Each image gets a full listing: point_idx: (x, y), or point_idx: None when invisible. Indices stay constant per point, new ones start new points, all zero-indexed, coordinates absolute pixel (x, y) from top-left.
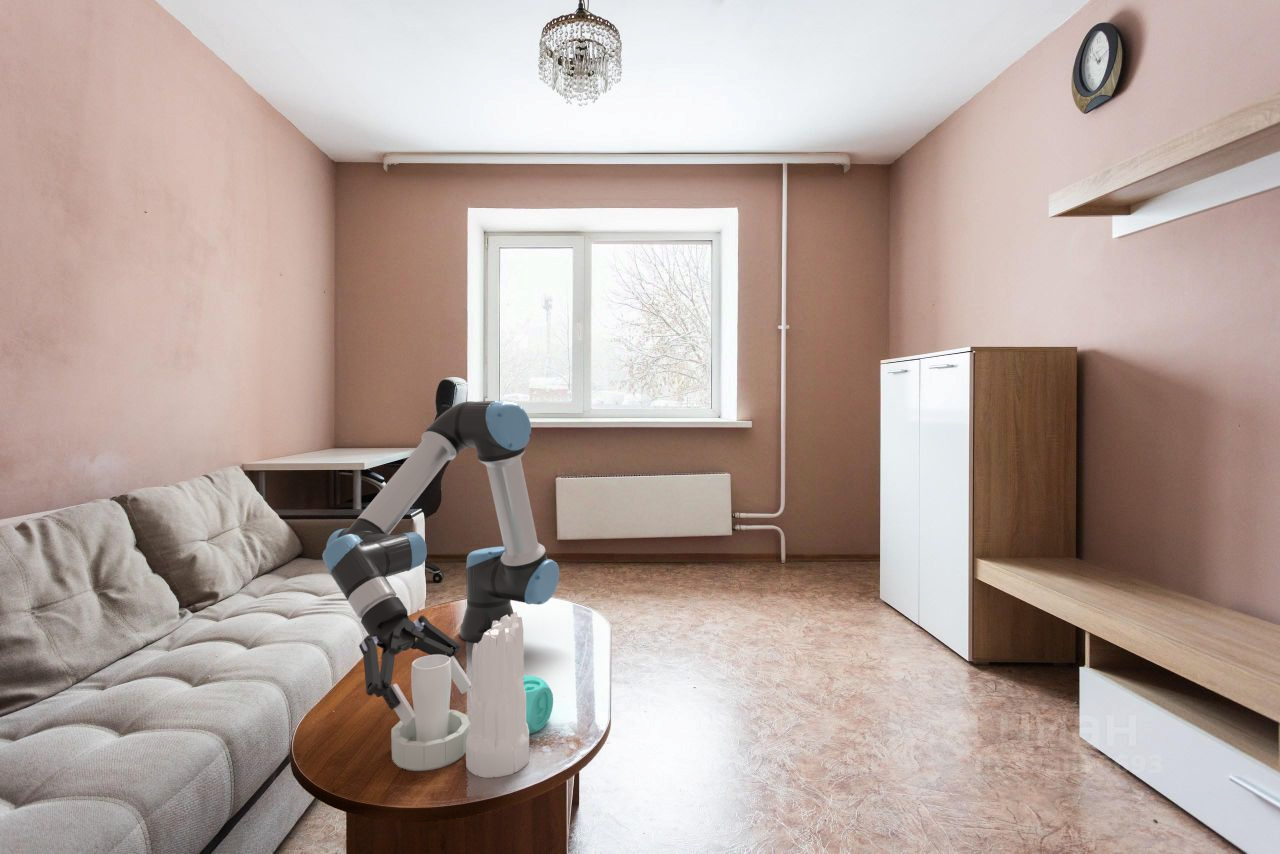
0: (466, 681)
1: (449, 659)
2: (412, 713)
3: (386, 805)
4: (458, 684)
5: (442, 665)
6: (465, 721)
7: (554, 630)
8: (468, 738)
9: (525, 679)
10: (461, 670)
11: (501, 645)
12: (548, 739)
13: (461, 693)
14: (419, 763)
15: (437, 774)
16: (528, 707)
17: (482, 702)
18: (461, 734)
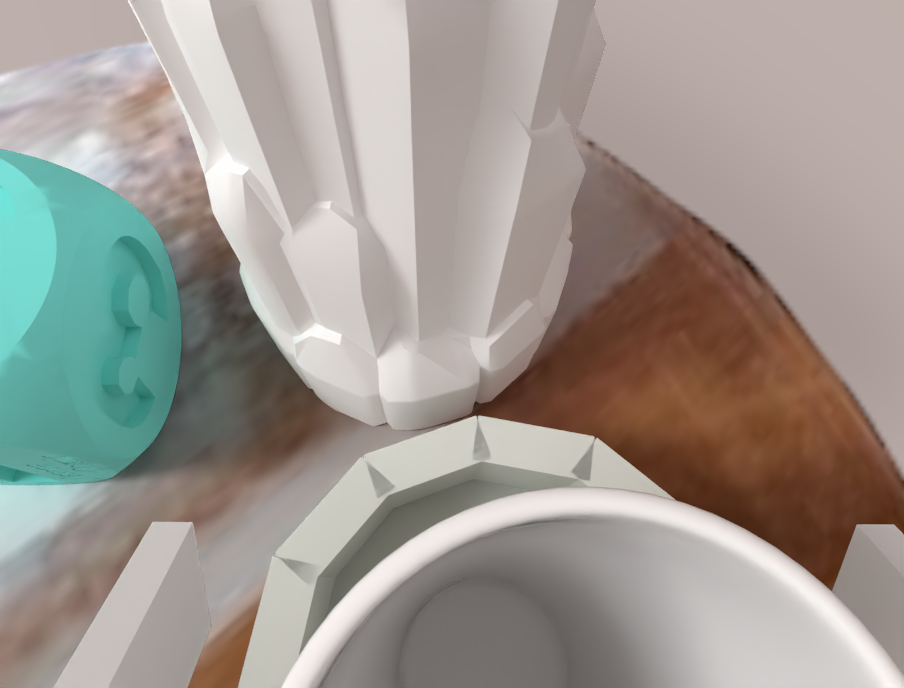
0: (174, 564)
1: (388, 584)
2: (901, 549)
3: (898, 480)
4: (175, 681)
5: (642, 502)
6: (350, 501)
7: None
8: (539, 311)
9: None
10: (86, 676)
11: None
12: (171, 201)
13: (209, 630)
14: None
15: (626, 453)
16: (119, 201)
17: (574, 67)
18: (482, 417)
